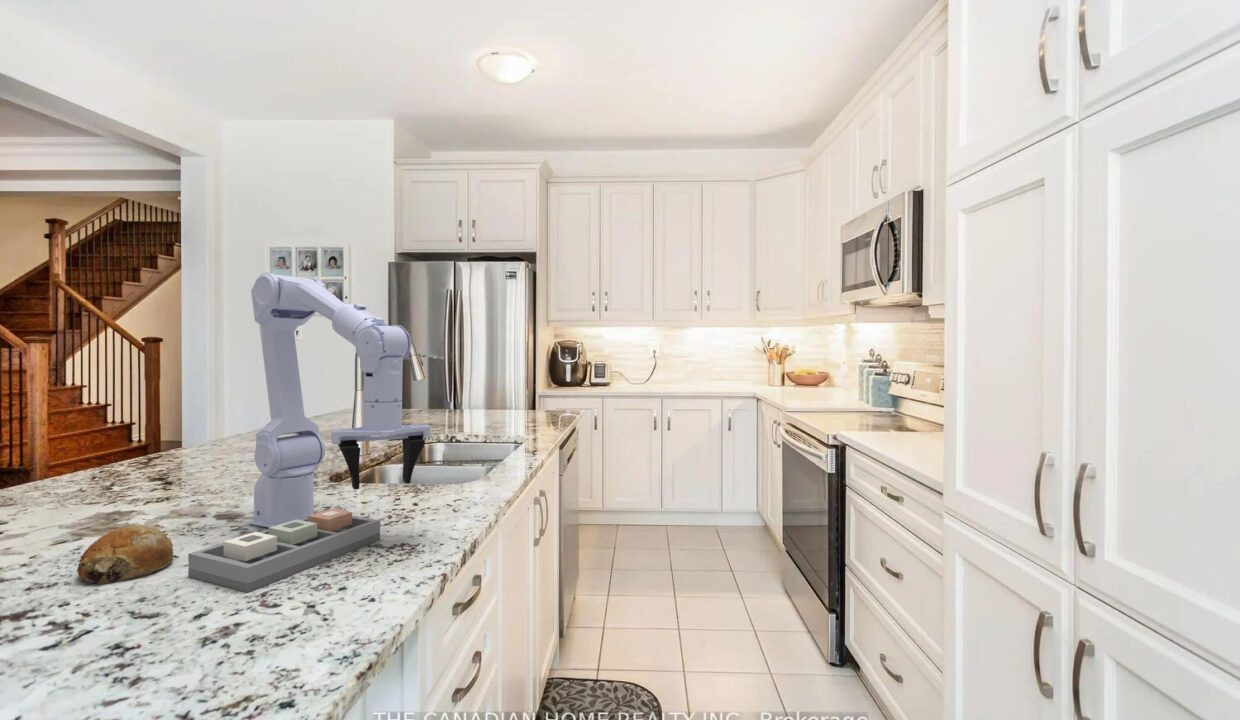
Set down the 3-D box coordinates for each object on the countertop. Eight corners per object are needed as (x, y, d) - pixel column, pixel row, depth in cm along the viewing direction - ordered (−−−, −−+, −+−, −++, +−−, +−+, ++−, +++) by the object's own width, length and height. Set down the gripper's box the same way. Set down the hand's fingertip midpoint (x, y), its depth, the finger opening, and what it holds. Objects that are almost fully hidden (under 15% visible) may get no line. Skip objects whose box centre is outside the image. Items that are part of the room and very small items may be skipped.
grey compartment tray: (188, 576, 76) (188, 553, 76) (327, 529, 97) (327, 511, 97) (247, 592, 72) (247, 568, 72) (380, 539, 92) (380, 520, 92)
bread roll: (176, 592, 80) (201, 534, 83) (98, 587, 71) (129, 523, 74) (131, 581, 83) (156, 526, 86) (50, 576, 74) (82, 515, 77)
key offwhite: (223, 555, 77) (223, 540, 77) (255, 545, 81) (255, 531, 81) (245, 561, 75) (245, 545, 75) (277, 550, 80) (277, 535, 80)
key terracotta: (307, 528, 89) (307, 515, 89) (331, 520, 93) (332, 507, 93) (328, 532, 87) (328, 518, 87) (352, 524, 92) (352, 511, 92)
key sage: (268, 541, 83) (268, 527, 83) (296, 532, 87) (296, 518, 87) (290, 545, 81) (290, 531, 81) (317, 536, 86) (317, 522, 86)
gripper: (336, 404, 82) (335, 496, 82) (436, 401, 90) (434, 484, 91) (329, 400, 88) (328, 486, 88) (423, 397, 96) (422, 475, 96)
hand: (381, 485), depth 90 cm, fingers open, 7 cm apart
